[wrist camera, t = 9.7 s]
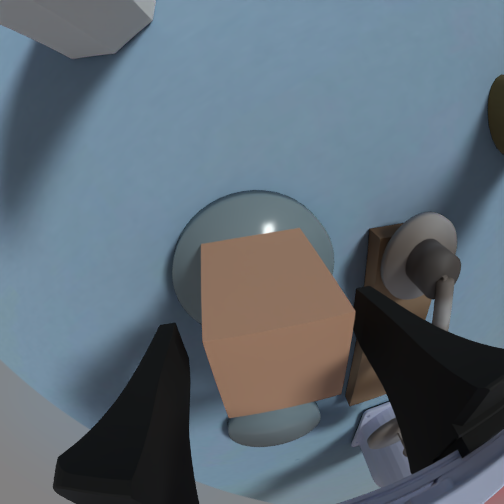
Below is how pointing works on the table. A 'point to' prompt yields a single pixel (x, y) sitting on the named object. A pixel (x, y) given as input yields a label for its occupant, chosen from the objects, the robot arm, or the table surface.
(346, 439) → the table surface
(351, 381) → the balance
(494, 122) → the cork
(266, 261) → the block
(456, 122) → the table surface
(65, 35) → the salt shaker
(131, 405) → the robot arm
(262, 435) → the smooth grey pebble
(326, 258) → the grey dome
